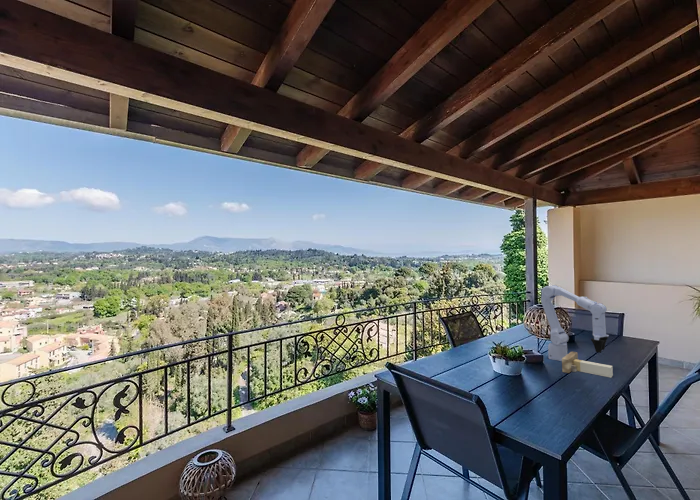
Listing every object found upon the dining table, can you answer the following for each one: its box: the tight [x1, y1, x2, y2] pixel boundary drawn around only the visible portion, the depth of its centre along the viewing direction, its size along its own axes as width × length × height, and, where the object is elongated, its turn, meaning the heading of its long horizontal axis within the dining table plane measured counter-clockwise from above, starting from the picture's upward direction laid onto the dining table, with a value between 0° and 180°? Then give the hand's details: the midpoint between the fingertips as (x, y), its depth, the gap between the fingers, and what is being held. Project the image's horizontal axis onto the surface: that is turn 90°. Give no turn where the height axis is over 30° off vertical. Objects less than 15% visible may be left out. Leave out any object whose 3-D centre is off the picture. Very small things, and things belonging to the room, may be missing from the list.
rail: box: [573, 359, 614, 379], centre depth 170 cm, size 16×4×5 cm, turn 42°
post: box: [561, 351, 579, 374], centre depth 177 cm, size 5×18×7 cm, turn 132°
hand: (600, 350), depth 177 cm, fingers open, 7 cm apart
